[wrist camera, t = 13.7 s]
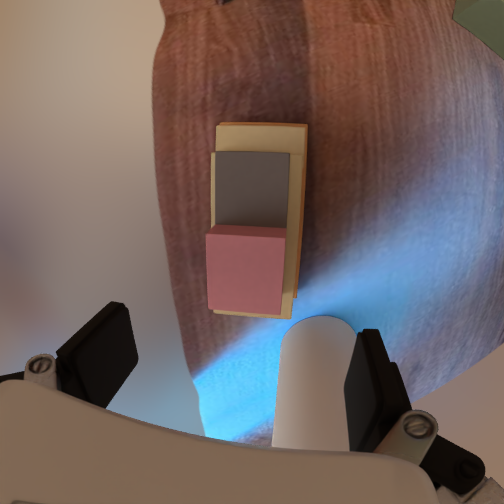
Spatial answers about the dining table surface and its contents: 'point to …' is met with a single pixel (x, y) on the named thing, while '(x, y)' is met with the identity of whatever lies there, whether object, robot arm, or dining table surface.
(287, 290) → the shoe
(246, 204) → the grey and pink l-bracket
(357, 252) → the dining table surface
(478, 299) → the dining table surface
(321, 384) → the cup
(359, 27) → the dining table surface
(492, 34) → the rectangular block
